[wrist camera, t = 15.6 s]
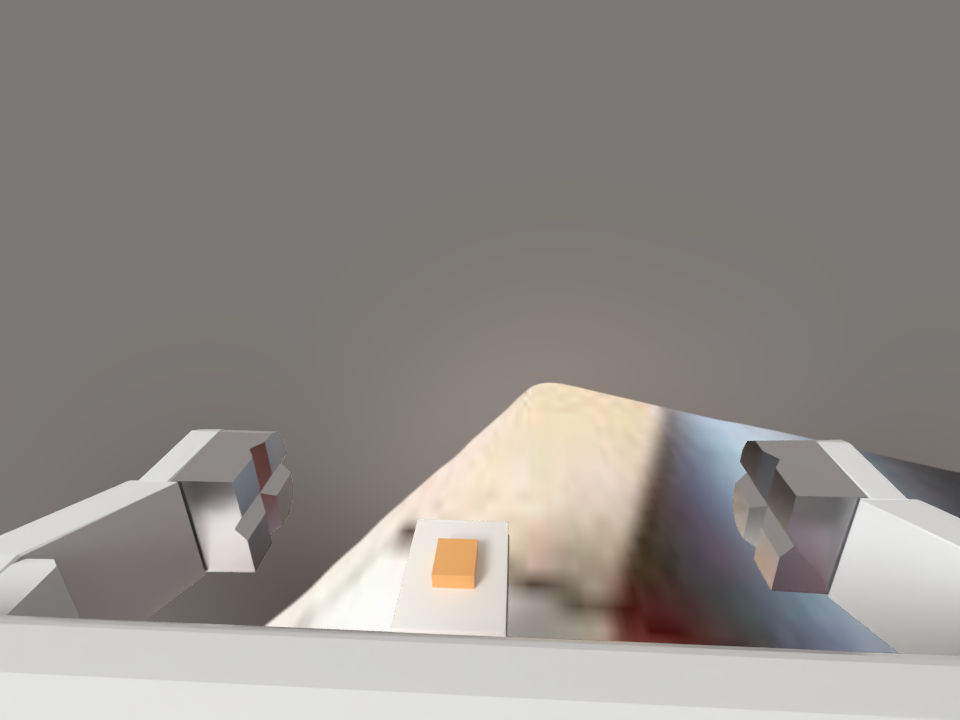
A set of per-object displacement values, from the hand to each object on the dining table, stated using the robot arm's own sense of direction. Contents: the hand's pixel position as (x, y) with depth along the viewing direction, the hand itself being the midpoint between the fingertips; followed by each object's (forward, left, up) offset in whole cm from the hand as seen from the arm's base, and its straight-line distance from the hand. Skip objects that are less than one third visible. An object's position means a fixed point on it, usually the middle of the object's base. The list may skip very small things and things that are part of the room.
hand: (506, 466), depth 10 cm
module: (-6, -10, -28) cm, 31 cm away
